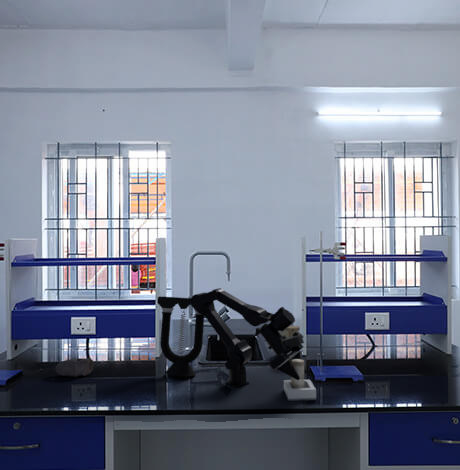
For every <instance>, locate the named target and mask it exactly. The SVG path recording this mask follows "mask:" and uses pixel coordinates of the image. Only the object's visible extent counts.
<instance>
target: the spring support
mask: <svg viewBox="0 0 460 470" xmlns="http://www.w3.org/2000/svg"><path fill="white" fill-rule="evenodd" d="M191 298H192V297H178V296H177V297H175V296H157V302H156V303H157V304H158V305H159V306H160V307H161V310H162V311H161V314H162V315H161V331H160V341H159V343H160V348H161V349H160V350H161V352H162V354H163V356H164V357H165V358H166V359H167V360H168V361H169V362H170V363H172V364H171V365H170V366H169V367H168V369H166V371H165V372H164V374H165V375H167V376H171V377H180V378H181V377H194V376H196V375H197V374H196V371H194V369H193V368H192V366H191V365H190V364H191V363H192V362H194V361H196V360H197V358H198V357H199V356H200V354H201V352H202V349H203V344H204V343H203V341H204V325H205V324H204V323H205V316H203V315H201V314H200V313H198V312H197V311H196V310H195V309H194V308H193V310H194V315H195V320H194V321H195V323H194V339H193V341H194V342H193V347H192V349H191V351H189V353H187V354H185V355H183V353H184V345H185V344H184V341H185V340H184V339H185V338H184V337H185V330H186V329H185V328H186V327H185V326H186V325H185V324H186V323H185V322H186V311H185V310H187V309H188V308H189V306H191V303H190V302H191ZM177 305H178V306H179V308H180V311H181V312H182V314H180V323H179V324H180V326H179V339H178V340H179V341H178V350H177V351H178V354H176V353H174V352H173V351H172V348H171V346H170V334H171V333H170V332H171V321H172V320H171V318H172V314H173V311H174V310H175V308H174V307H176V306H177ZM180 354H181V355H180Z"/></svg>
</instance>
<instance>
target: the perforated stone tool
mask: <svg viewBox="0 0 460 470" xmlns="http://www.w3.org/2000/svg"><path fill="white" fill-rule="evenodd" d="M93 370H94V360H93V358H89V357H88V358H84V357H83V358H69V359H65V360H62V361H60V362H59V363H57V364H56V367H55V372H56V374H58V375H60V376H63V377H67V376H68V377H73V378H76V377H79V376H82V377H86V376H87V375H90V374H91V373H92V372H93Z"/></svg>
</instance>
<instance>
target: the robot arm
mask: <svg viewBox="0 0 460 470" xmlns="http://www.w3.org/2000/svg"><path fill="white" fill-rule="evenodd" d="M190 298H191V302H190V303H191V305H190V306H191V307H192V308H193V310H194V309H195V310H196V311H197V312H198V313H200V314H201V315H203V316H204V318H206V320H207V322H208V323H209V324H210V326H212V328H213V329H214V331H215V332H216V334H217V336H218V337H219V338H220V340H222V342H223V343H224V345H225V346H226V349H227V354H228V357H229V359H228V360H227V361H226V362H225V363H224V365H225V368H226V370H228V380H226V381H225V383H226V384H228V385H230V386H233V387H235V388H238V387H241V386H244V385H248V384H250V381H248V380H247V368H246V365H249V362H250V361H251V359H252V357H253V351H252V347H251V346H250V345H249V344H248V342H247V341H246V340H245V339H242V340H240V339H238V337H236V335H235V334H234V332H233V331H232V330H231V329H230V328H229V326H228V325H227V324H226V322H225V320H224V319H223V318H222V316H221V315H220V314H219V312H217V310H216V307H215V301H217V302H218V303H220V304H222V305H224V306H226V307H227V308H229V309H231V310H232V311H234V312H236V313H238V314H240V315H241V316H242V318H243V320H245V321H246V322H247V323H248V324H249V325H250V326H252V327H255V336H254V337H258V336H260V335H261V337H262V338H263V339H264V340H265V342H266V343H267V345H268V347H267V348H268V349H269V350H272V351H273V352H274V354H275V355H276V356H275V357H274V358H273V359H272V360H271V361H269V367H270V369H271V370H272V371H274V370H276V371H279V372H281V373H282V374H285V375H287V376H289V377H290V378H291V377H293V378H294V379H296V380H299V379H300V377H299V375H298V373H297V372H296V370H295V369H294V367H293V365H292V360H293V359H301V360H303V358H302V354H303V348H304V345H303V344H304V343H305V342H304V335H302V333H301V332H300V331H297V332H295V333H293V336H292V337H289V338H287V337H286V336H285V335H284V336H282V335H281V334H280V332H279V331H284V330H285V329H287V328H288V327H289V326H292V325H293V324H294V323H295V322H296V318H295V316H294V315H293V313H292V312H291V311H290V310H288V309H286V308H285V307H284V306H281V307H279V308H278V309H277V311H276V312H275V313H273V312H269V311H267V310H266V309H265V308H263V307H261V306H257V305H252V304H249V303H247V302H245V301H243V300H242V299H240V298H238V297H236V296H234V295H232V294H231V293H229V292H227V291H226V290H224V289H223V288H215V289H212V290H211V291H208V292H200V293H197V294H193V295H192V296H191V297H190ZM261 325H262V326H261ZM259 326H260V327H259ZM289 358H290V359H289ZM307 373H308V370H307V368H306V366H305V364H304V375H305V374H307Z"/></svg>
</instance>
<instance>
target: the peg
mask: <svg viewBox="0 0 460 470" xmlns="http://www.w3.org/2000/svg"><path fill="white" fill-rule="evenodd" d="M292 365H293V367H294V369H295V370H296V372H297V373H298V375H299V377H300V379H299V380H296V379H294V378H293V377H291V376H290V380H291V388H304V380H305V374H304V365H305V360H304V359H302V360H301V359H293V360H292Z"/></svg>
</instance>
